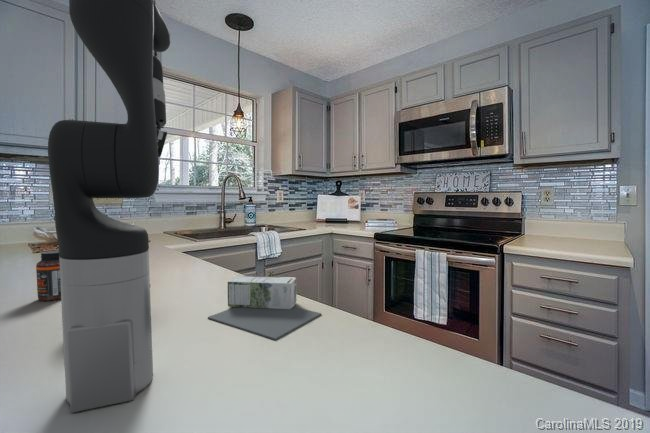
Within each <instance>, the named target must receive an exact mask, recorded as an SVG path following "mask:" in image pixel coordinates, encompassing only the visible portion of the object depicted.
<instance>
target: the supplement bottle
mask: <svg viewBox="0 0 650 433" xmlns="http://www.w3.org/2000/svg"><path fill="white" fill-rule="evenodd" d="M59 257H60V256H59V250H48V251H42V252H41V253H40V258H41V259H40V261H38V262H37V263H36V265H35V267H36V269H35V271H36V272H35V273H36V282H37V283H36V288H37V289H36V290H37V299H38V300H39V301H40V302H53V301H58V300H61V279H60V260H59Z"/></svg>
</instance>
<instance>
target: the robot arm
mask: <svg viewBox="0 0 650 433" xmlns="http://www.w3.org/2000/svg"><path fill="white" fill-rule="evenodd" d="M68 3H69V4H68V8H69V9H68V10H69V17H70V18H69V19H70V21H71V23H72V26H73V28H74V30H75V32H76V33H77V35H78V37H79V38H80V40H81V41H82V43H83V45H84V46H85V47H86V49H87V50H88V52H89V53H90V54H91V56H92V57H93V58H94V60H95V61H96V62H97V63H98V65H99V67H101V69H102V70H103V71H104V72H105V74H106V76H107V77H108V78H109V80H110V82H111V83H112V85H113V87H114V88H115V90H116V92H117V94H118V95H119V97H120V99H121V100H122V103H123V104H124V105H123V106H124V108H125V110H126V115H127V122H126V123H117V122H107V121H105V122H103V121H91V120H90V121H89V120H78V119H63V120H58V121H57V122H55V123H54V124H53V125H52V127H51V128H50V131H49V135H48V138H47V140H48V141H47V156H48V157H47V158H48V168H49V176H50V183H51V184H50V185H51V191H52V199H53V208H54V209H53V210H54V225H55V233H56V237H57V244H58V251H59V256H60V257H59V260H60V279H61V299H60V301H61V316H62V317H61V320H62V321H61V322H62V325H61V326H62V341H63V342H62V343H63V360H64V362H63V365H64V379H65V381H64V382H65V398H66V403H67V404H69V409H70V413H77V412H80V411H86V410H92V409H95V408H96V409H97V408H101V407H107V406H110V405H115V404H119V403H125V402H131V401H134V400H135V397H136V395H137V394H138V393H139V392H141V391H142V390H144V389H145V388H146V387H147V386H149V385H150V383H151V382H152V380H153V378H154V362H153V361H154V360H153V357H154V356H153V339H152V338H153V337H152V336H153V335H152V331H153V330H152V312H151V311H152V307H151V283H150V281H151V280H150V248H149V247H150V245H149V244H150V243H149V233H148V232H147V230H146V229H145V228H144V227H141V226H139V225H134V224H131V223H128V222H123V221H120V220H117V219H115V218H113V217H110V216H108V215H106V214H104V213H103V212H101V211H100V210H99V209H98V208H97V206H96V205H95V202H94V201H95V200H94V199H143V198H150V197H151V196H153V195H154V194H155V192H156V190H157V188H158V183H159V176H160V173H159V172H160V165H159V164H160V163H159V162H160V160H159V158H161V156H162V154H163V149H164V147H165V143H166V140H167V137H168V136H167V135H168V132H167V131H166V130H162V128H163V127H165V125H166V124H167V111H166V110H167V109H166V108H167V106H166V93H165V86H164V70H163V69H164V67H163V64H162V61H161V60H160V59H159V58H158V57H156V56H155V55H154V52H156V53H163V52H166V51H167V50H168V49H169V48H170V45H171V33H170V30H169V28H168V25H167V23H166V21H165V19H164V17H163V16H162V15H161V14H162V13H161V12H160V10H159V9H158V6H157V2H156V0H68Z"/></svg>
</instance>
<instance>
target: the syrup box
mask: <svg viewBox="0 0 650 433" xmlns="http://www.w3.org/2000/svg"><path fill="white" fill-rule="evenodd" d="M296 304H297V277H293V276H292V277H291V276H287V277H286V276H264V275H263V276H258V275H257V276H256V275H236V276H234V277H233V278H232V279H229V280H228V281H227V307H229V308H234V307H246V308H269V309H291V308H292V307H295V305H296Z"/></svg>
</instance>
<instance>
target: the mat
mask: <svg viewBox="0 0 650 433" xmlns="http://www.w3.org/2000/svg"><path fill="white" fill-rule="evenodd" d="M320 316H322V313H321V312H319V311H312V310H310V309H305V308H300V307H297V306H293V307H292V308H291V309H269V308H246V307H230V308H229V309H226V310H223V311H221V312H217V313H215V314H212V315H209V316H207V319H208V320H211V321H215V322H218V323H221V324H224V325H227V326H230V327H234V328H236V329H240V330H242V331H245V332H249V333H252V334H255V335H258V336H261V337H264V338H268V339H271V340H273V341H277V340H279V339H280V338H282V337H284V336H285V335H288V334H289V333H291V332H294V331H295V330H296V329H298V328H301V327H302V326H304V325H305V324H307V323H309V322H312V321H313V320H315V319H316V318H318V317H320Z"/></svg>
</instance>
